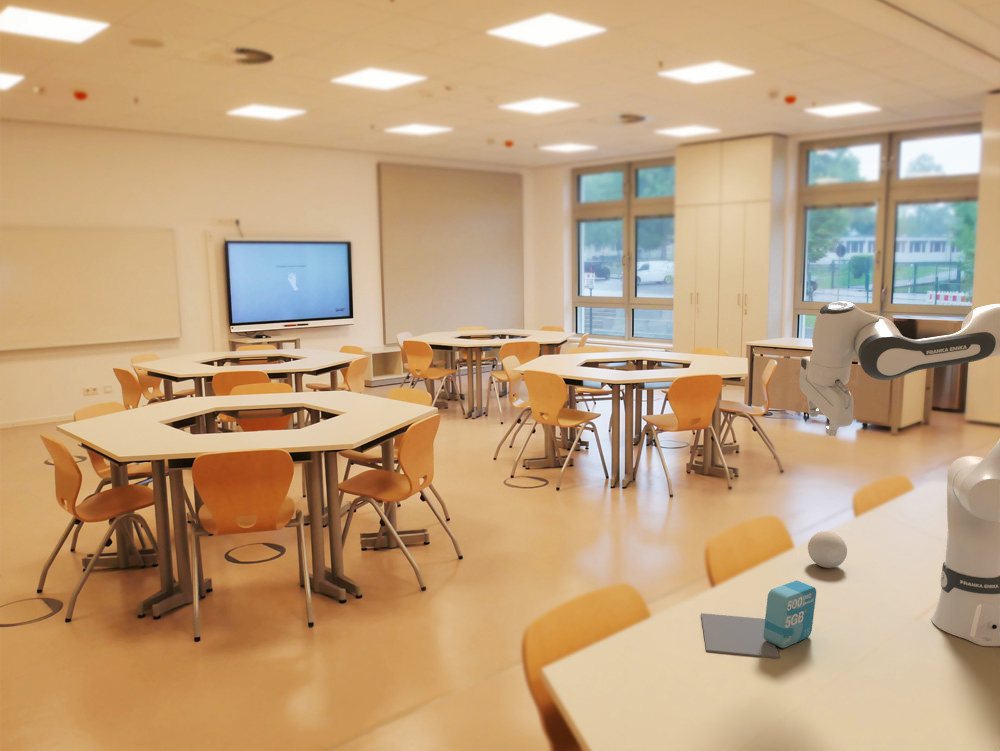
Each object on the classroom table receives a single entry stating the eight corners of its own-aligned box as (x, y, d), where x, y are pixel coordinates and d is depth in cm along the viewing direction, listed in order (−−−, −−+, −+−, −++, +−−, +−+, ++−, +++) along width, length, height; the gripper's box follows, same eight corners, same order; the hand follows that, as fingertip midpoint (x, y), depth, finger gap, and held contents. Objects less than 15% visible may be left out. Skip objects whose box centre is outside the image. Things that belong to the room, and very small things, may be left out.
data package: (780, 650, 166) (786, 597, 164) (762, 641, 170) (767, 589, 168) (811, 636, 173) (817, 586, 171) (793, 628, 177) (799, 578, 175)
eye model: (837, 559, 219) (839, 526, 217) (852, 574, 209) (854, 538, 207) (801, 559, 219) (803, 525, 217) (814, 573, 209) (817, 538, 207)
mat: (767, 620, 181) (767, 619, 181) (779, 658, 163) (779, 656, 163) (701, 614, 184) (701, 613, 184) (706, 651, 166) (706, 649, 166)
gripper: (865, 390, 166) (856, 446, 172) (822, 353, 184) (816, 404, 190) (836, 392, 166) (828, 448, 172) (797, 355, 184) (790, 406, 190)
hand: (821, 424), depth 181 cm, fingers open, 8 cm apart
